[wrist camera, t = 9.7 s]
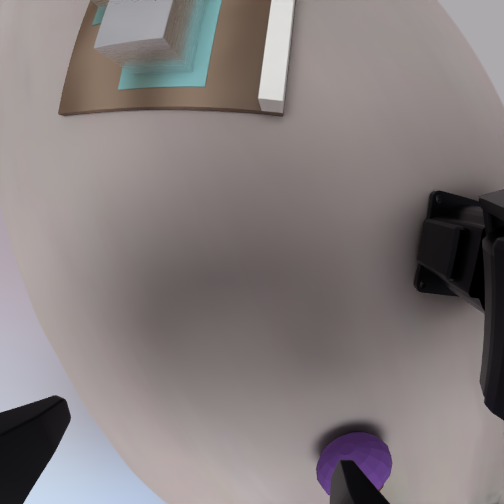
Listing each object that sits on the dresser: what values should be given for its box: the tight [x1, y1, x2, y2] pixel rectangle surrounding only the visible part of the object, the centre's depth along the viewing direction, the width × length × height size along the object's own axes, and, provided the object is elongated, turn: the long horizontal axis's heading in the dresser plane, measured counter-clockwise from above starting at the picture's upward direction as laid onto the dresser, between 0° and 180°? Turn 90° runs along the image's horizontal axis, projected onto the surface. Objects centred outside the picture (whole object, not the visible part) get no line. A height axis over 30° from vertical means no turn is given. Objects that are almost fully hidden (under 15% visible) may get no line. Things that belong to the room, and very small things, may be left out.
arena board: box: [58, 0, 296, 116], centre depth 15 cm, size 16×16×1 cm
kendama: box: [316, 432, 392, 495], centre depth 20 cm, size 6×6×20 cm
